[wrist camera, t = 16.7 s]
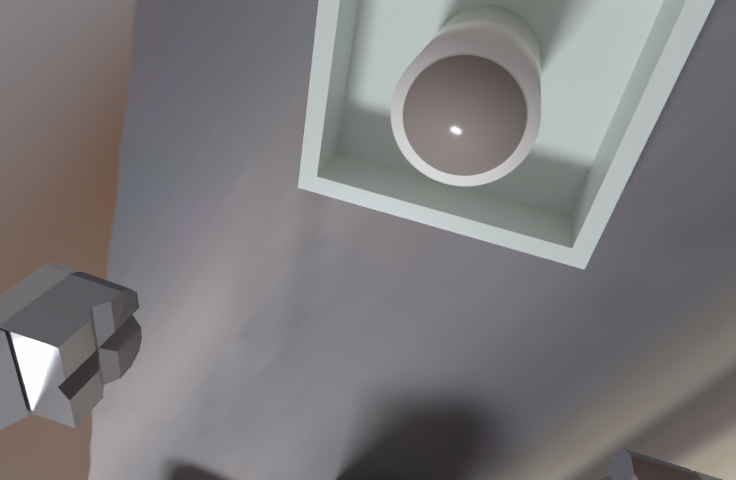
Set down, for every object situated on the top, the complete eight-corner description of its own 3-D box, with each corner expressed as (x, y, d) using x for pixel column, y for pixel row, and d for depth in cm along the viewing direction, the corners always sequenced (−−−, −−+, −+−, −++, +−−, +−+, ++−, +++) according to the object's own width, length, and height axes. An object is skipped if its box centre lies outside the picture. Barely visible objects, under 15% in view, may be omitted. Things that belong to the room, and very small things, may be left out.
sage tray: (722, -82, 23) (755, -82, 20) (579, 231, 32) (584, 269, 28) (363, -152, 25) (336, -163, 22) (322, 160, 34) (298, 187, 30)
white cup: (557, 19, 26) (564, 61, 18) (519, 129, 29) (513, 203, 21) (443, -6, 27) (406, 24, 19) (419, 103, 30) (378, 166, 22)
